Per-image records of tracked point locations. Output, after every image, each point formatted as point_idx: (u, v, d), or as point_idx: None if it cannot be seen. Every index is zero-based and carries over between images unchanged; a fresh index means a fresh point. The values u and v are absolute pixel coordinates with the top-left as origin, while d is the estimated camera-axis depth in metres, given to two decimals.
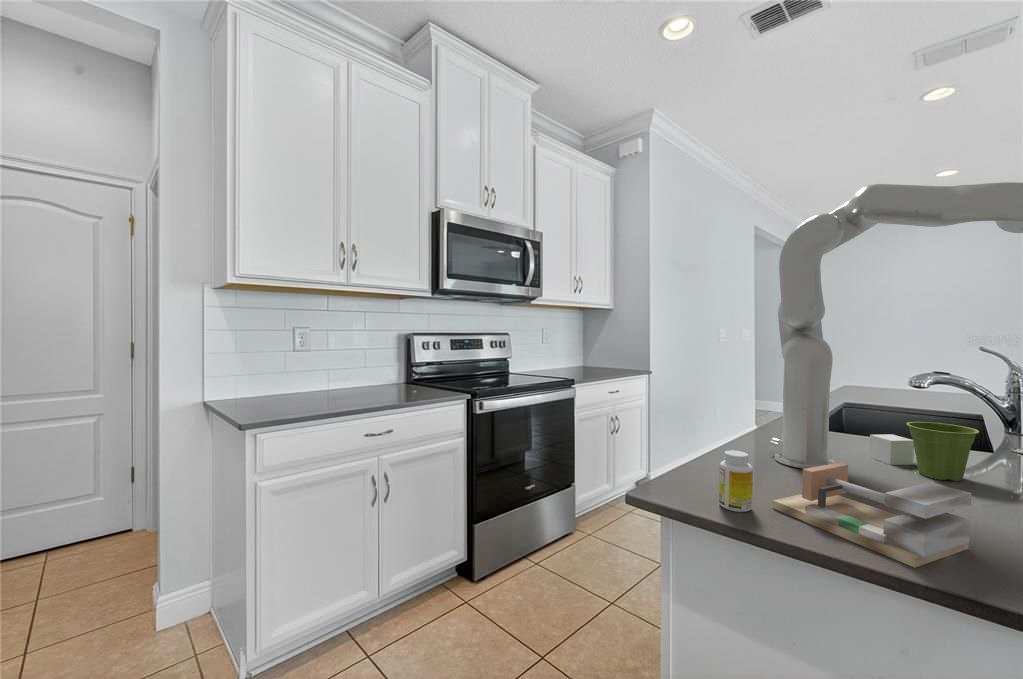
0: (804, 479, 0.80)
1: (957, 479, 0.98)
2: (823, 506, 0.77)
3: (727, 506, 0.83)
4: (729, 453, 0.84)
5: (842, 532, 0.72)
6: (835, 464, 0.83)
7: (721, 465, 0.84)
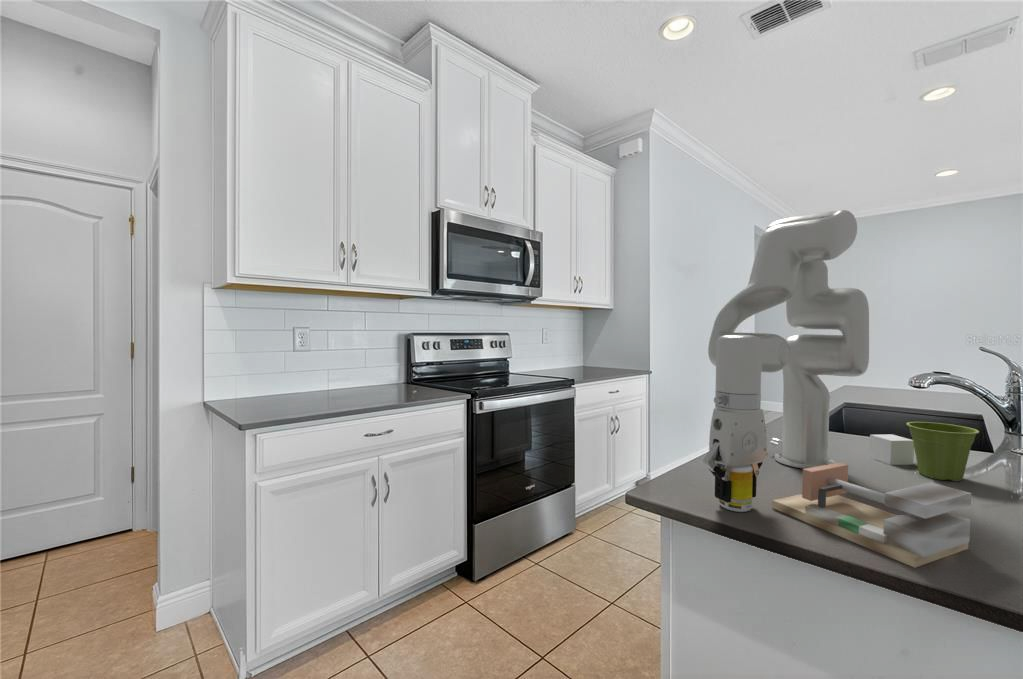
0: (804, 479, 0.80)
1: (957, 479, 0.98)
2: (823, 506, 0.77)
3: (727, 506, 0.83)
4: None
5: (842, 532, 0.72)
6: (835, 464, 0.83)
7: None
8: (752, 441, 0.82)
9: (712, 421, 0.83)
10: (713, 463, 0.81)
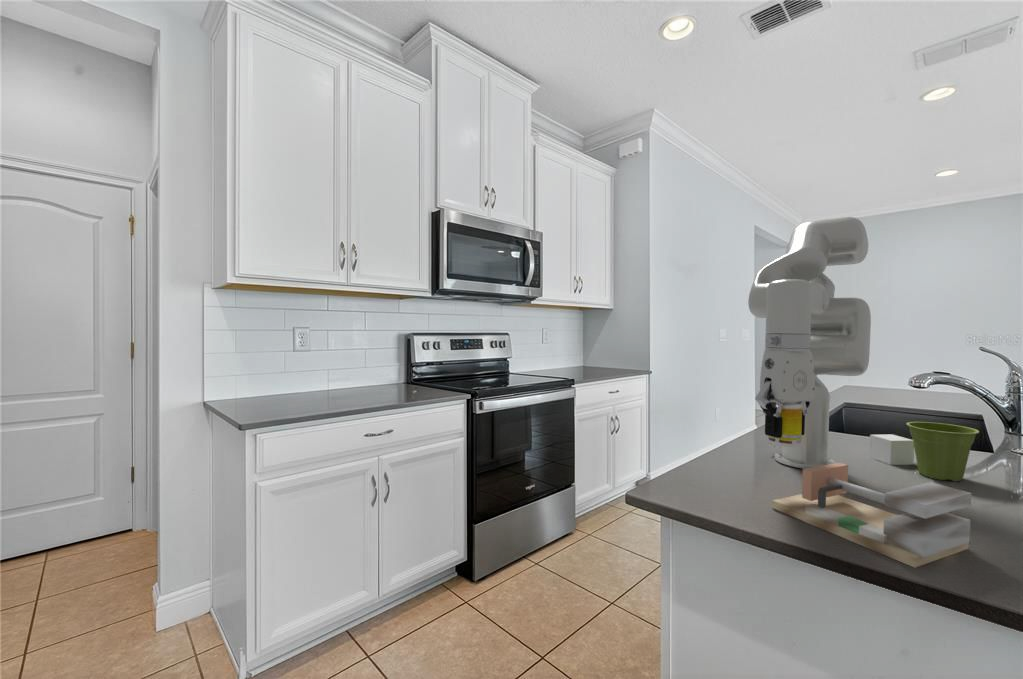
0: (804, 479, 0.80)
1: (957, 479, 0.98)
2: (823, 506, 0.77)
3: (778, 442, 0.87)
4: None
5: (842, 532, 0.72)
6: (835, 464, 0.83)
7: None
8: (802, 380, 0.86)
9: (763, 362, 0.88)
10: (765, 400, 0.85)
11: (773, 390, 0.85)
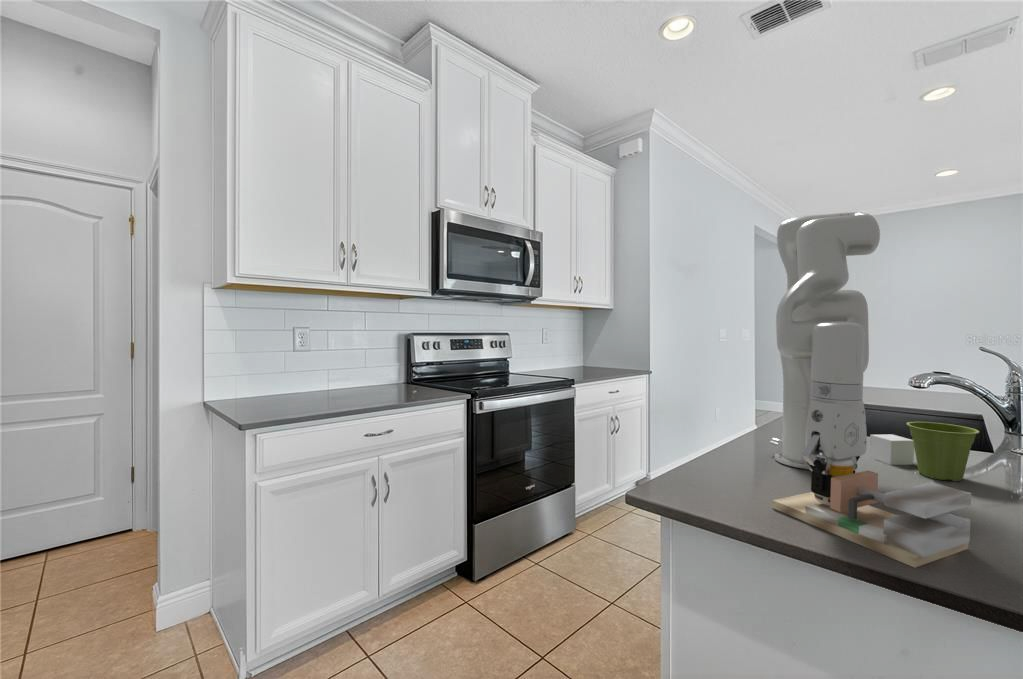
0: (832, 488, 0.76)
1: (957, 479, 0.98)
2: (854, 518, 0.72)
3: (827, 501, 0.79)
4: None
5: (842, 532, 0.72)
6: (864, 472, 0.79)
7: None
8: (854, 433, 0.78)
9: (810, 413, 0.80)
10: (813, 456, 0.77)
11: (822, 446, 0.77)
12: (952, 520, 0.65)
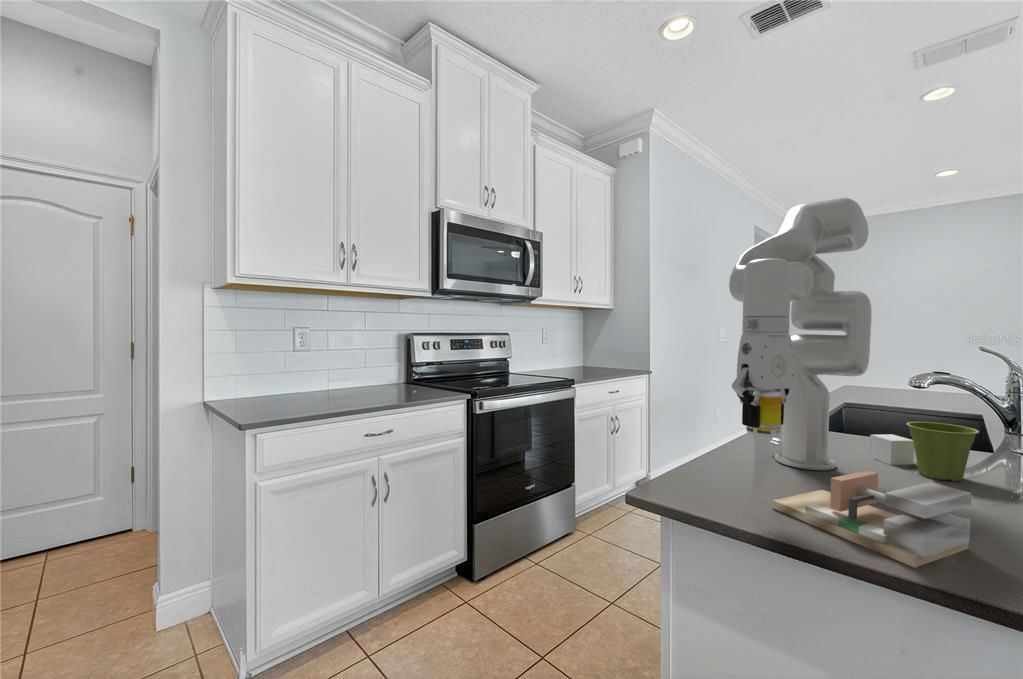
0: (832, 488, 0.76)
1: (957, 479, 0.98)
2: (854, 518, 0.72)
3: (756, 432, 0.82)
4: None
5: (842, 532, 0.72)
6: (864, 472, 0.79)
7: (749, 392, 0.83)
8: (781, 365, 0.81)
9: (740, 347, 0.82)
10: (742, 387, 0.80)
11: (750, 377, 0.80)
12: (952, 520, 0.65)
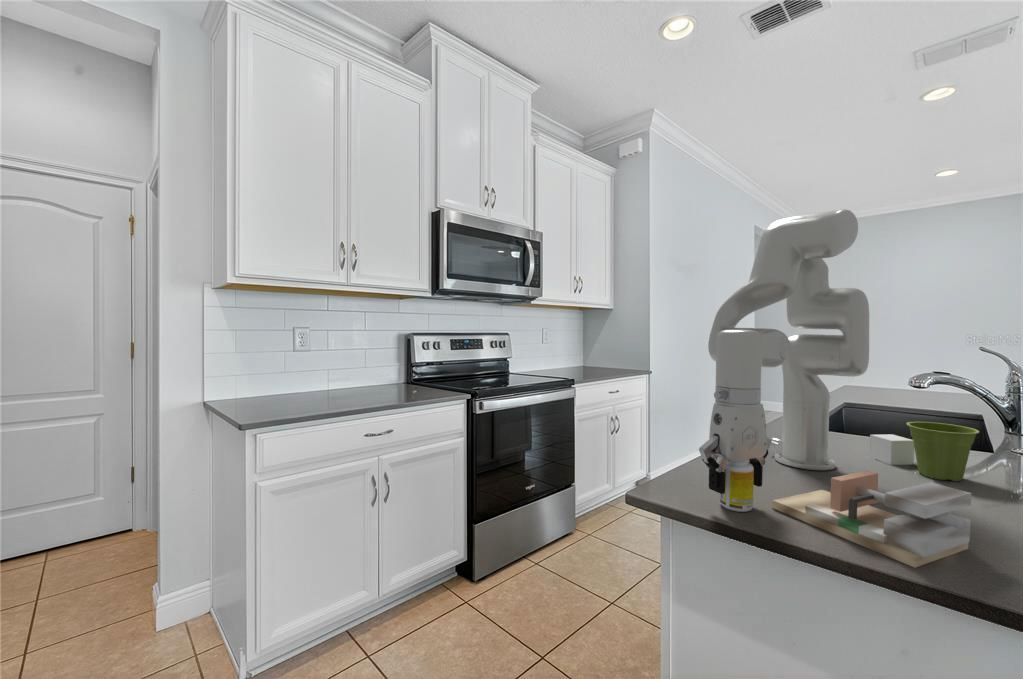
0: (832, 488, 0.76)
1: (957, 479, 0.98)
2: (854, 518, 0.72)
3: (728, 506, 0.83)
4: None
5: (842, 532, 0.72)
6: (864, 472, 0.79)
7: None
8: (752, 436, 0.81)
9: (712, 416, 0.83)
10: (709, 453, 0.81)
11: (721, 442, 0.81)
12: (952, 520, 0.65)
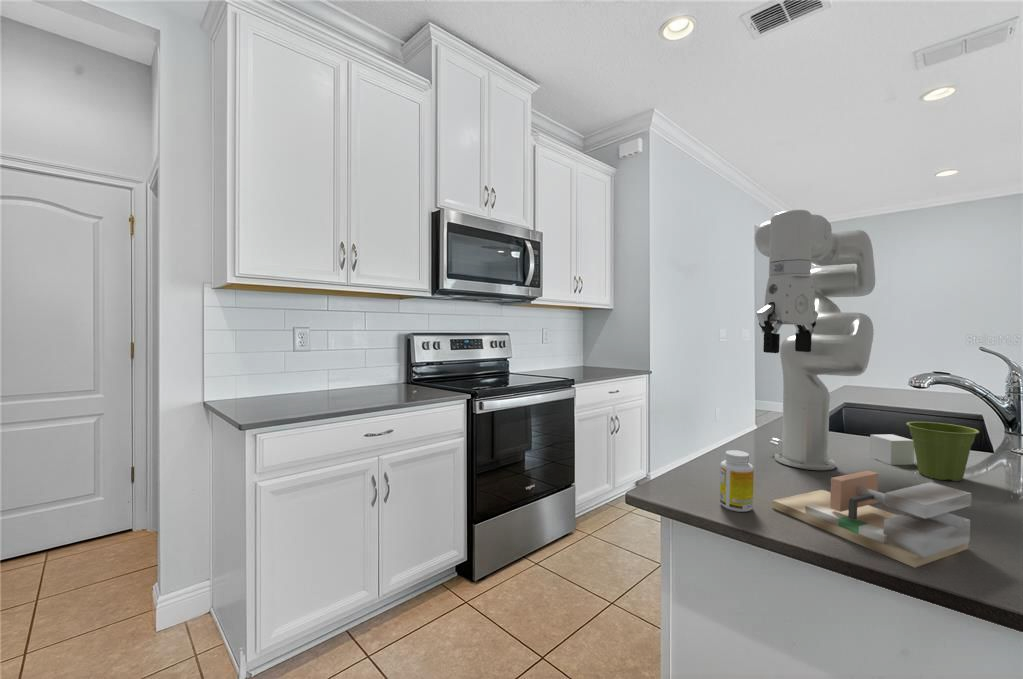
0: (832, 488, 0.76)
1: (957, 479, 0.98)
2: (854, 518, 0.72)
3: (728, 506, 0.83)
4: (730, 453, 0.84)
5: (842, 532, 0.72)
6: (864, 472, 0.79)
7: (722, 465, 0.84)
8: (803, 303, 0.93)
9: (767, 288, 0.95)
10: (765, 316, 0.92)
11: (777, 307, 0.92)
12: (952, 520, 0.65)
